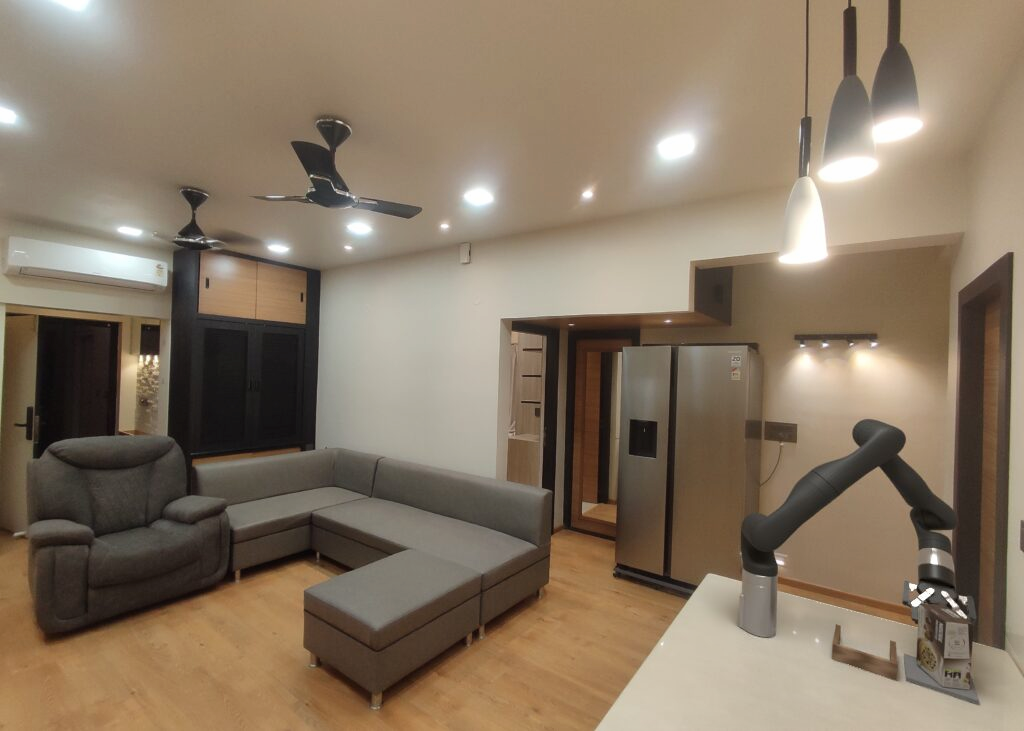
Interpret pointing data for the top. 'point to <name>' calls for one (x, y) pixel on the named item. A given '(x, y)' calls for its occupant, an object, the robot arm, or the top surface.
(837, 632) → the walnut holder
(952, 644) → the coffee box
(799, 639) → the top surface
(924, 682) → the charcoal mat
